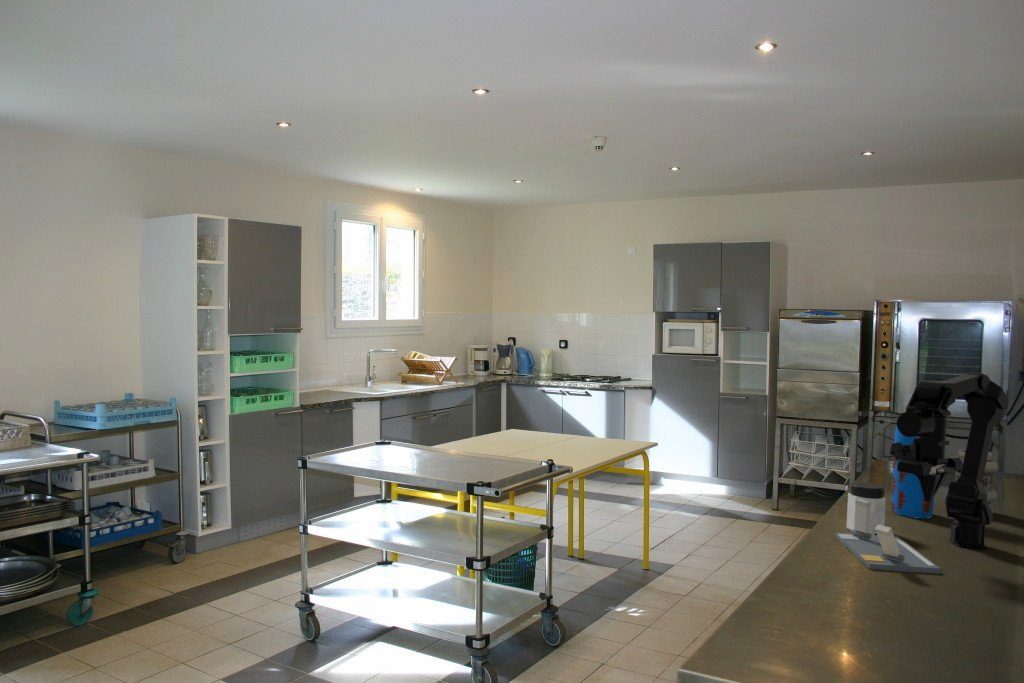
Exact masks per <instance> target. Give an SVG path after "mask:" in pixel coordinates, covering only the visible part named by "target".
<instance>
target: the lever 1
mask: <svg viewBox="0 0 1024 683" xmlns="http://www.w3.org/2000/svg"><path fill="white" fill-rule="evenodd" d="M870 504H871V502H869V501H864V500H860V499H858V500H855V525H854V529H853V530H851V534H852V535H855V536H859V537H862V538H866V539H871V534H869V533H868V532H869V518H870Z"/></svg>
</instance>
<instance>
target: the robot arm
mask: <svg viewBox="0 0 1024 683" xmlns="http://www.w3.org/2000/svg"><path fill="white" fill-rule="evenodd" d="M912 392H913V393H912V395H911V397H910V399H909V401H908V403H907V405H906V407H905V412H902V413H901V414H899V417H898V418H897V420H896V425H897V428H898V430H899V432H900V433H901V434H902V435H904V436H906V437H916V436H918V438H914V439H913V444H910V445H903V444H902V443H901V442H897V443H895V442H893V443H891V444H890V448H889V449H890V451H889V454H890V456H892V457H893V459H894V458H895V461H898V460H900V459H901V460H900V461H898V462H897V471H900V472H905V473H910V474H914V475H915V476H916V477H917V478H918V479H919V482H920V485H921V488H922V492H923V495H924V499H925V501H928V502H930V501H932V499H933V497H934V498H935V495H936V494H937V492H938V491H939V489H940V488H941V486H942V484H943V483H944V482H945V480H946V479H947V477H948V476H950V474H951V473H950V472H948V471H945V468H949V469H950V468H951V469H954V471H956V470H961V475H960V478H959V479H958V480H956V481H955V480H954V481H950V483H949V484H948V491H947V493H946V496H945V501H944V502H945V503H944V504H945V508H946V509H945V510H946V514H947V518H952V520H953V521H952V523H951V524H950V534H949V535H950V536H949V538H948V540H949V541H951V542H952V543H953V544H955V545H956V546H958V547H961V548H970V549H974V548H975V549H984V550H985V549H988V546H987V545H985V538H986V537H985V536H986V526H987V525H988V526H990V525H991V524H992V521H993V516H994V514H993V512H992V510H991V508H990V505H989V504H987V493H986V491H985V488H984V486H983V484H982V481H983V476H984V471H985V467H986V462H987V457H988V452H990V447H991V440H992V436H993V432H994V429H995V428H994V427H995V426H996V425H997V424H998V423H999V422H1000V421H1001V420H1002V419H1003V418H1004V417H1005V413H1006V410H1007V409H1008V408H1009V402H1010V400H1009V397H1008V395H1007V394H1006V392H1005V390H1004V389H1003V387H1001V386H1000V385H998V384H997V383H995V382H994V381H992V380H991V378H990V377H989V376H988V375H987V374H985V373H981V372H980V373H979V372H977V373H976V372H966V373H963V374H961V375H959V376H955V377H951V378H947V379H944V380H921V381H919V382H918V384H917V385H916V386H915V388H914V390H913V391H912ZM958 397H963V399H964V400H965V402H966V404H967V407H966V411H967V413H968V416H969V418H970V420H971V424H970V429H969V433H968V437H967V442H966V448H965V449H966V451H965V456H964V461H963V462H962V460H961V459H960V458H959V457H957V456H953V455H952V456H951V455H946V446H949V445H950V440H948V439H947V436H946V435H947V425H948V424H947V423H948V416H951V415H952V413H951V411H950V410H949V407H950V406H951V405H953V404H955V403H956V398H958ZM910 458H911V459H910ZM944 467H945V468H944Z"/></svg>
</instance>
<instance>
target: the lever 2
mask: <svg viewBox="0 0 1024 683" xmlns="http://www.w3.org/2000/svg"><path fill="white" fill-rule="evenodd" d="M875 531H876V533H877V535H878V538H879V541H880V543H881V546H882V548H883V552H882V555H883V556H885V557H888V558H892V559H895V560H898V561H902V562H903V561H904V555H900V551H899V548H898V546H897V543H896V540H895V538H894V536H895V535H894V532H893V529H892V527H890V526H886V525H884V526H882V525H877V526H876V528H875Z"/></svg>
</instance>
